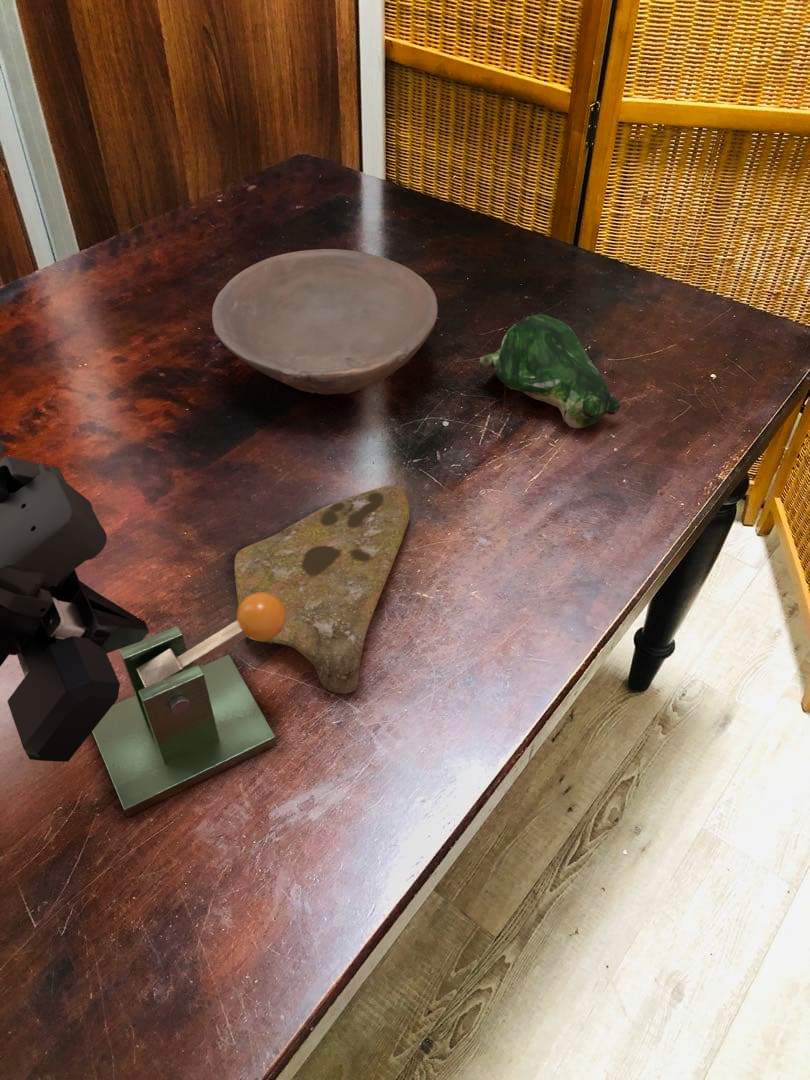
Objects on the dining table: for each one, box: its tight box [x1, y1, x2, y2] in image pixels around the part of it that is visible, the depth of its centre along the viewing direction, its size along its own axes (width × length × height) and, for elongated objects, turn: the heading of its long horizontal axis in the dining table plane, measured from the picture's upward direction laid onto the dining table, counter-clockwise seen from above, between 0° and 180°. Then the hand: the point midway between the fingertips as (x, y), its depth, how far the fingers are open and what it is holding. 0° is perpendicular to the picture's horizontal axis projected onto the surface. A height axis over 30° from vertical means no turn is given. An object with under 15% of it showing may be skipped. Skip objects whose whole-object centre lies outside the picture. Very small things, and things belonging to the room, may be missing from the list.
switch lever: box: [137, 592, 286, 688], centre depth 64 cm, size 11×4×4 cm, turn 121°
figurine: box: [477, 313, 621, 429], centre depth 97 cm, size 14×9×15 cm
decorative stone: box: [233, 484, 411, 694], centre depth 81 cm, size 25×15×5 cm, turn 165°
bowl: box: [211, 248, 439, 395], centre depth 100 cm, size 25×25×8 cm
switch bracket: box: [91, 624, 277, 818], centre depth 65 cm, size 12×9×10 cm
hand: (144, 631), depth 59 cm, fingers closed
